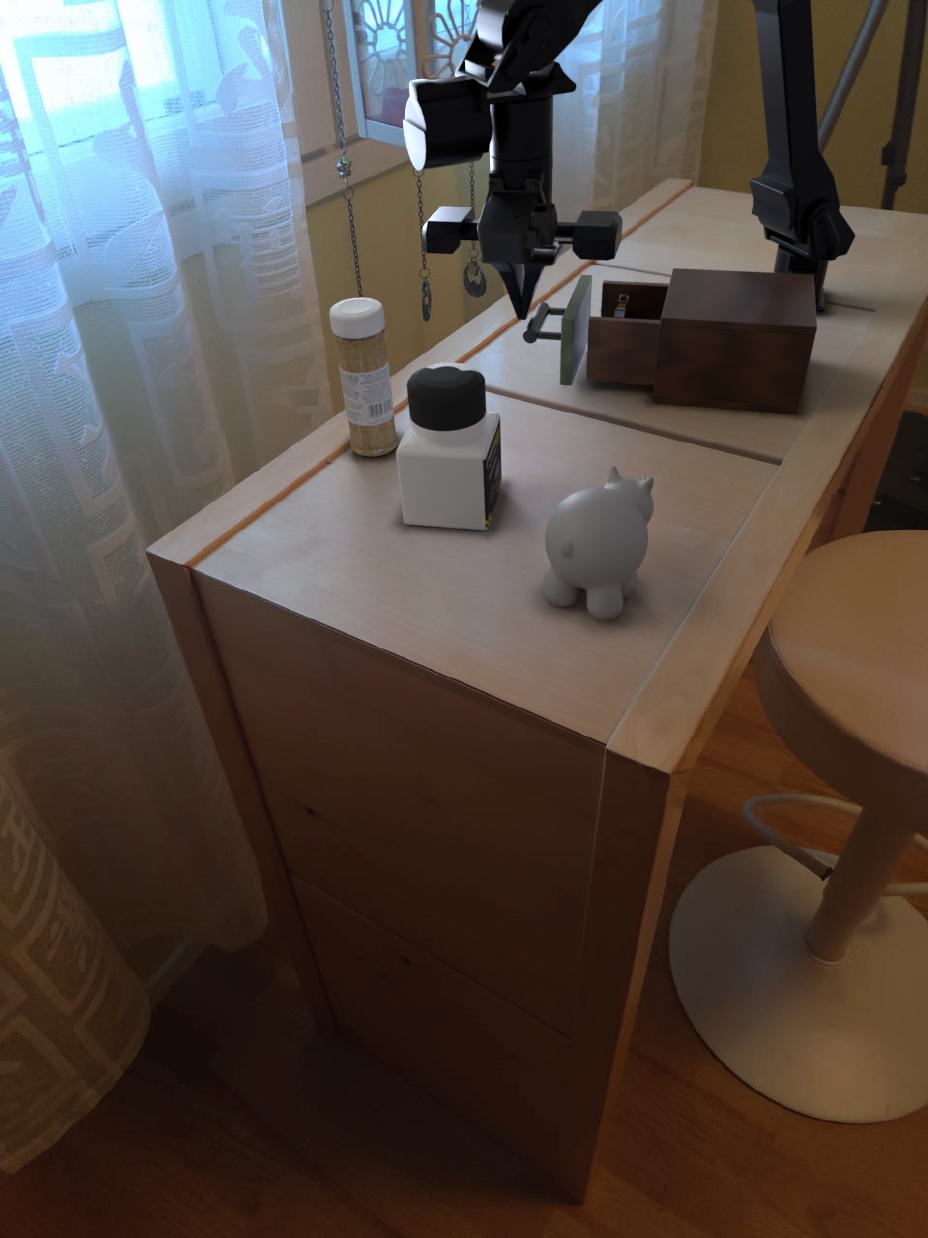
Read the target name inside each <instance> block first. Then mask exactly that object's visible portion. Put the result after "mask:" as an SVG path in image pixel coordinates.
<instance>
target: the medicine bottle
mask: <svg viewBox="0 0 928 1238" xmlns="http://www.w3.org/2000/svg"><path fill="white" fill-rule="evenodd" d="M486 391H487V389H486V378H485V376H484V374H482V372H481V371H480V370H479V369H478V368H476V367H474V366H471V365H469V364H467V363H466V364H465V363H460V362H451V361H445V362H439V363H438V362H437V363H433V364H429V365H426V366H423V367H421V368H419V369H418V370H416V371H414V372H413V373H412V374H411V376H410V377H409V378H408V380H407V382H406V395H407V403H408V413H409V424H408V426H407V428H406V430H405V432H404V435H403V436H402V438H401V440H400V442H399V443H398V445H397V449H396V451H395V455H396V464H397V473H398V474H397V475H398V481H399V491H400V498H401V508H402V515H403V516H402V517H403V522H404V524H405V525H408V526H421V527H432V528H433V527H434V528H447V529H459V530H471V531H484V532H485V531H487V530H489V526H490V523H491V520H492V517H493V515H494V510H495V507H496V504H497V501H498V497H499V495H500V492H501V488H502V484H503V473H502V471H503V470H502V436H501V433H502V432H501V431H502V430H501V415H500V413H498V412H495V411H487V392H486Z"/></svg>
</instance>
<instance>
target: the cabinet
mask: <svg viewBox="0 0 928 1238" xmlns="http://www.w3.org/2000/svg"><path fill="white" fill-rule="evenodd" d="M668 284H669V287H668V291H667V295H666V300H665V304H664V308H663V312H662V316H661V323H660V333H659V343H658V353H657V363H656V373H655V382H654V385H653V394H652V403H653V404H661V405H662V404H663V405H676V406H687V407H700V408H713V409H714V408H715V409H725V410H737V411H751V412H763V413H775V414H777V413H778V414H787V415H798V414H799V410H800V407H801V401H802V397H803V392H804V388H805V383H806V381H807V380H806V379H807V375H808V370H809V366H810V361H811V356H812V352H813V348H814V343H815V338H816V334H817V329H818V323H817V322H818V321H817V312H816V305H815V290H814V276H813V274H793V273H773V272H771V271H770V272H768V271H767V272H766V271H745V270H727V269H726V270H723V269H704V268H703V269H702V268H701V269H700V268H683V267H682V268H680V267H679V268H678V267H673V268H672V271H671V276H670V280H669V283H668Z"/></svg>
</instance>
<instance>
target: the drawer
mask: <svg viewBox="0 0 928 1238" xmlns="http://www.w3.org/2000/svg"><path fill="white" fill-rule="evenodd" d="M592 285H593V275H592V274H580V275H579V278H578V280H577V283H576V285H575V287H574V289H573V292H572V294H571V297H570V299H569V301H568V304H567V306H566V307H551V306H550V305H549V303H547V302H545V301H542V302H539V303H538V304H537V305H536V307H535V308H534V311H533V313H532V315H531V316H530V319H529V321H528V323H527V325H526V327H525V329H524V331H523V333H522V339H523V341H524V342H525V343H527V344H534V343H536V342H537V340H549V341H560V361H559V366H560V367H559V385H561V386H572V385H573V383H574V380H575V377H576V374H577V371H578V369H579V366H580V363H581V361H582V358H583V356H584V353H585V351H586V366H585V367H586V368H585V369H586V370H585V381H587V382H588V381H589V382H591V381H592V382H603V383H615V384H630V385H643V386H654V382H655V373H656V363H657V353H658V343H659V333H660V323H661V316H662V312H663V308H664V304H665V300H666V295H667V291H668V287H669V283H668V282H667V283H666V282H665V283H664V282H644V281H643V282H642V281H626V280H625V281H623V280H603V281H602V285H601V286H602V288H601V305H600V316H592V315H591V309H592V288H593V286H592ZM622 294H624V295H627V296H629V300H628V305H627V308H626V311H625V317H624V318H614V315H615V309H616V308H617V305H618V300H619V298H620V295H622ZM548 316H559V317H560V316H561V319H560V322H561V323H560V324H561V326H560V332H559V331H558V332H556V331H542V330H543V328H544V325H545V324H546V321H547V319H548ZM586 347H587V348H586Z"/></svg>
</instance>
